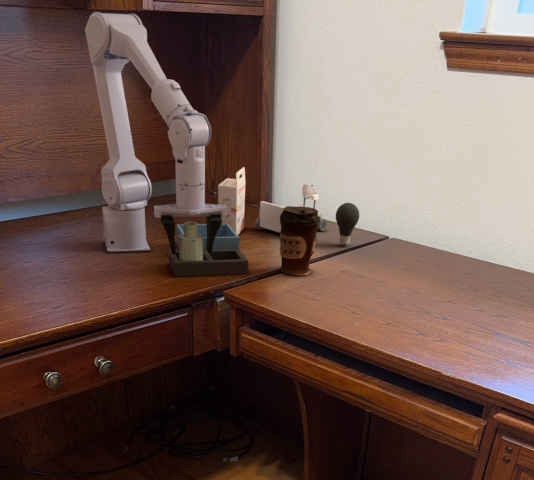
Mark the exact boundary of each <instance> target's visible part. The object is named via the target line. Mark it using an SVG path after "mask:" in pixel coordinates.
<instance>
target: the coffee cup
mask: <svg viewBox="0 0 534 480" xmlns="http://www.w3.org/2000/svg"><path fill="white" fill-rule="evenodd" d="M284 207H285V208H284V209H283V210H284V211H283V212H282V214H281V215H280V224H281V232H279V254H280V259H281V265H280V271H281V272H283V273H285V274H287V275H293V276H307V275H309V274H310V273H311V269H310V261H311V258H312V256H313V255H314V253H315V246H316V244H317V232H318V226H319V222H320V217H319V216H318V214H319V210H317V209H316V208H315V209H314V208H313V207H310V206H305V207H303V206H302V205H301V206H291V205H289V206H284Z"/></svg>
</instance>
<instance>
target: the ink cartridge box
mask: <svg viewBox="0 0 534 480" xmlns="http://www.w3.org/2000/svg"><path fill="white" fill-rule="evenodd" d="M217 195H218V196H217V202H218V203H217V205H225V206H226V207H227V211H226V217H221V218H222V224H229V225H230V227H231V228H232V229H233V230H234V231H235V233H236V234H237V235H238V236H239V235H240V234H241V232H242V231H243V230H244V228H245V209H246V208H245V207H246V206H245V205H246V204H245V203H246V169H245V166H243V167H242V168H240V169H239V170H237V172H236V173H235V178H228V177H227V178H225V179H224V180H223V181H222V182H220V183H219V184H218V185H217Z"/></svg>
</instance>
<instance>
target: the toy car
mask: <svg viewBox="0 0 534 480" xmlns="http://www.w3.org/2000/svg"><path fill="white" fill-rule="evenodd" d="M302 197H303V205H302V207H306V200H309V199H310V200H312V201H313V207H312V208H314V209H316V202H317V201H318V200H320V198H321V195H320V194H317V191H316V190H315V188H314V185H313V184H311V185H309V184H303V185H302ZM285 207H286V206H283V205H280V204H276V203H272V202H268V201H264V200H262V201H260V202H259V217H257V218H256V219H255V220H254V229H255V230H257V231H261V230H263V229H267V230H270V231H273V232H276V233H280V232H281V224H280V215H281V214H282V212H283V211H284V210H283V209H284V208H285ZM317 214H318V216H319V217H320V222H319V226H318V229H317V231H319V232H324V231H326V229H327V227H328V221H327V220H326V219H325V218H323V215H322V214H319V213H317Z"/></svg>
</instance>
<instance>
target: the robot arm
mask: <svg viewBox="0 0 534 480" xmlns="http://www.w3.org/2000/svg"><path fill="white" fill-rule="evenodd" d="M84 32H85V37H86V43H87V48H88V54H89V60H90V63H91V64H92V70H93V75H94V81H95V86H96V91H97V97H98V101H99V107H100V112H101V118H102V119H101V120H102V124H103V131H104V133H105V134H104V135H105V140H106V146H107V151H108V156H109V159H108V161H107V162H106V163H105V165H104V166H103V167H102V168H101V170H100V175H101V194H102V197H103V200H104V201H105V202H106V204H107V205H108V206H102V208H101V211H102V225H103V233H102V237H103V242H104V245H105V249H106V252H107V253H119V252H150V251H151V247H150V245H149V243H148V241H147V230H146V210H145V207H146V206H148V201H150V199H151V197H152V191H153V188H152V182H151V179H150V177H149V175H148V173H147V167H146V165H145V164H144V162H142V161H141V160H140V159H138V158H137V157H136V155H135V147H134V141H133V137H132V130H131V126H130V118H129V112H128V107H127V100H126V96H125V88H124V84H123V83H124V82H123V78H122V77H123V76H122V71H123V69H124V67H125V65H126V64H128V63H129V62H131V63H132V65H133V66H134V67H135V69H136V70H137V72H138V73H139V74H140V75H141V77H142V78H143V80H144V81H145V82H146V84H147V85H148V87H149V88H150V89H151V94H150V95H151V96H150V100H151V101H152V104H153V105H154V106H155V108H156V110H157V111H158V113H159V114H160V116H161V117H162V119H163V120H164V122H165V123H166V125H167V127H168V130H167V136H168V141H169V143H170V145H171V148H172V149H171V150H172V155H173V158H174V159H175V162H174V163H175V196H176V197H175V199H176V201H175V203H170V204H161V205H153V211H154V212H153V214H154V217H155V219H159V220H160V222H161V224H162V226H163V229H164V230H165V233H166V237H167V240H168V244H169V249H170V250H169V251H171V253H172V254H175V252H176V251H177V249H176V240H175V239H176V238H175V236H176V235H175V233H176V231H175V230H176V222H175V219H174V218H181V217H182V218H183V217H185V218H186V217H189V218H190V217H205V221H206V223H205V224H207V242H206V249H207V252H208V253H212V247H213V243H214V240H215V237H216V234H217V232H218V230H219V228H220V226H221V224H222V218H221V217H226V211H227V207H226V206H225V205H218V204H212V203H206V175H205V174H206V147H207V146H208V145H209V143H210V142H211V139H212V126H211V124H210V122H209V119H208V117H207V115H205V114H204V113H201V112H199V111H198V110H197V109H194V108H193V107H192V105H191V103H190V101H189V100H188V98H187V97H186V95H185V94H184V92H183V91H182V89H181V86H180V84H179V83H178V82H176V81H175V80H174V79H169V78H167V76H166V75H165V73H164V71H163V70H162V67H161V65H160V64H159V62H158V60H157V58H156V56H155V54H154V52H153V50H152V48H151V47H150V45H149V42H148V32H147V28H146V27H145V26H144V25H143V22H142V20H141V18H140V17H139V16H138V15H137V14H136V13H128V14H125V13H107V12H106V13H104V12H100V11H94V12H92V13H91V14H90V15H89V18H88V21H87V23H86V25H85V28H84ZM125 172H127V173H125ZM128 172H129V173H128ZM121 173H122V174H121Z"/></svg>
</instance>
